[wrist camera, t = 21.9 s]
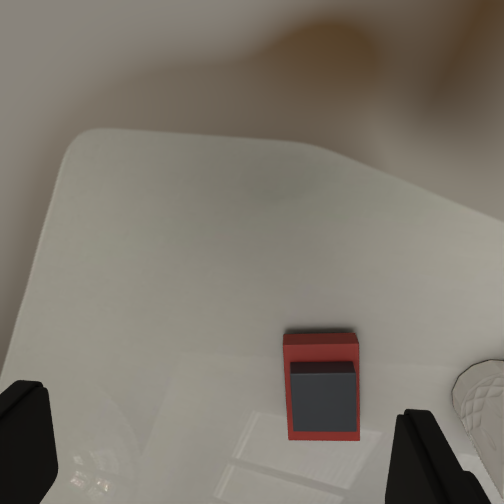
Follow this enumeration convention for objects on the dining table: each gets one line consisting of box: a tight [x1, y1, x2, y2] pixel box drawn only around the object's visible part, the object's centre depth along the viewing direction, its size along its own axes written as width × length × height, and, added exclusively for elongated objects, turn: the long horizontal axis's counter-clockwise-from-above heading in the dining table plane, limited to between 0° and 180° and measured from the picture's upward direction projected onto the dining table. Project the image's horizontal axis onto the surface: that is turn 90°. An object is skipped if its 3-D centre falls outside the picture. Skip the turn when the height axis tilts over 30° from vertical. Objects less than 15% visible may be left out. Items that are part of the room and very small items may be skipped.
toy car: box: [283, 333, 360, 441], centre depth 33 cm, size 9×5×6 cm
